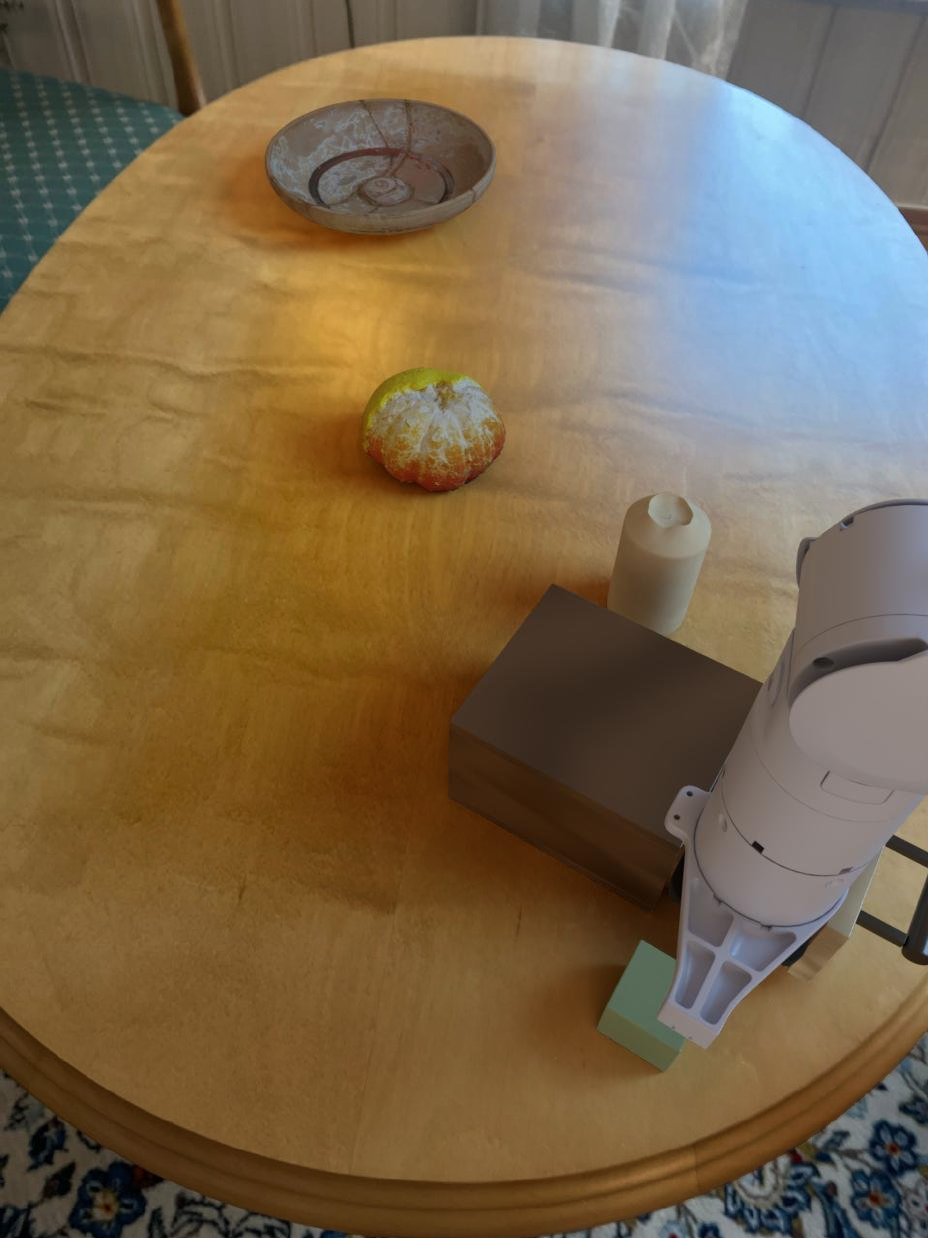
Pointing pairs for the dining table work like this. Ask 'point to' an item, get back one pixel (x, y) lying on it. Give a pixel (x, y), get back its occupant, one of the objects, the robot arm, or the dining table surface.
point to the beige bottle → (658, 561)
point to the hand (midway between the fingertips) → (715, 938)
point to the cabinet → (595, 740)
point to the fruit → (432, 428)
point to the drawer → (863, 918)
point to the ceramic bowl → (380, 165)
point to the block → (643, 1008)
